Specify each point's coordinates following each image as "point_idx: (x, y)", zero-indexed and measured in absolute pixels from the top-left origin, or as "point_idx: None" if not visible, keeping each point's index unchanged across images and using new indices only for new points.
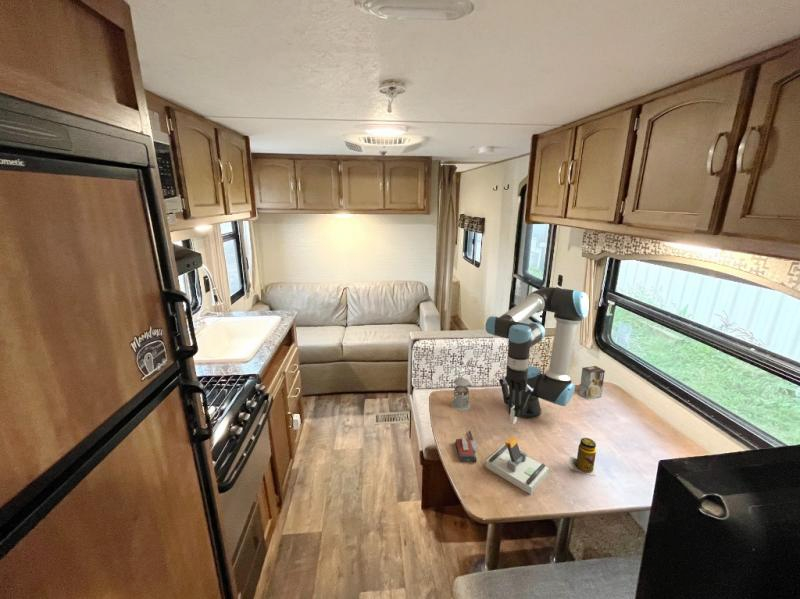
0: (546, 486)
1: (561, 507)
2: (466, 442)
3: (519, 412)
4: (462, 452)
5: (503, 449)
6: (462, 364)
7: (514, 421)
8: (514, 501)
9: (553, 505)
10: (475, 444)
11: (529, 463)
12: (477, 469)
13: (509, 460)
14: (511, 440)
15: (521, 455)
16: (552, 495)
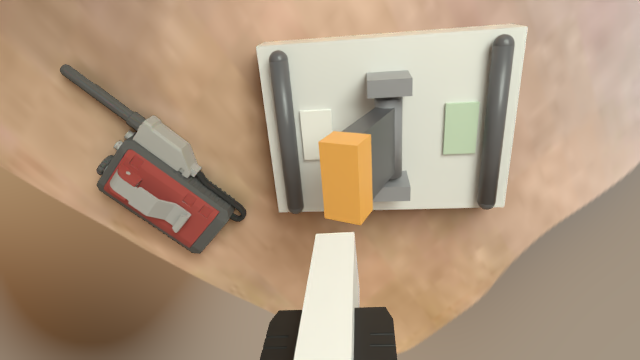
0: (531, 103)
1: (617, 162)
2: (147, 197)
3: (395, 349)
4: (183, 236)
5: (288, 109)
6: None
7: (358, 291)
8: (458, 255)
9: (586, 175)
10: (167, 144)
11: (432, 78)
12: (274, 227)
13: None
14: (350, 194)
15: (392, 101)
16: (569, 131)
